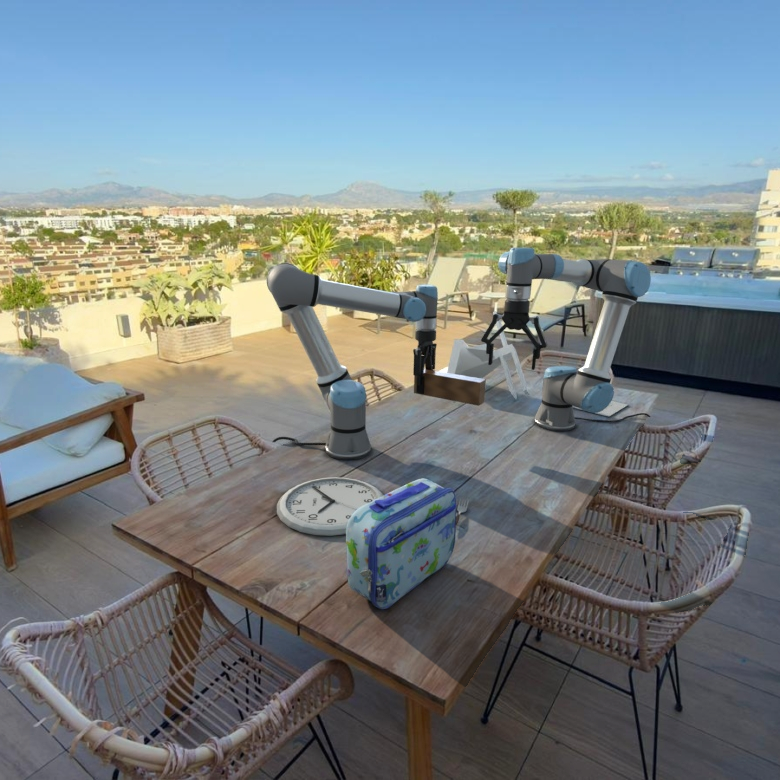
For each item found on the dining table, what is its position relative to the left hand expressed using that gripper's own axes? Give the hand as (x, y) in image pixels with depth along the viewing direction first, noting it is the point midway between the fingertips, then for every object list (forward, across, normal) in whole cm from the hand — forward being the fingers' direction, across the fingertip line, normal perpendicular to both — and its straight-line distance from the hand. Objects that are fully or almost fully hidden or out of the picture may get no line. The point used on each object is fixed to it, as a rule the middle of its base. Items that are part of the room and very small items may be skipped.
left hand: (423, 391), depth 194 cm
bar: (+1, 0, +10) cm, 10 cm away
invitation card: (+16, -67, +52) cm, 86 cm away
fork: (+15, +51, +39) cm, 66 cm away
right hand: (-16, +6, +34) cm, 38 cm away
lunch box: (+15, +81, +40) cm, 91 cm away
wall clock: (+15, +64, +7) cm, 66 cm away
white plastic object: (+15, -55, 0) cm, 57 cm away
